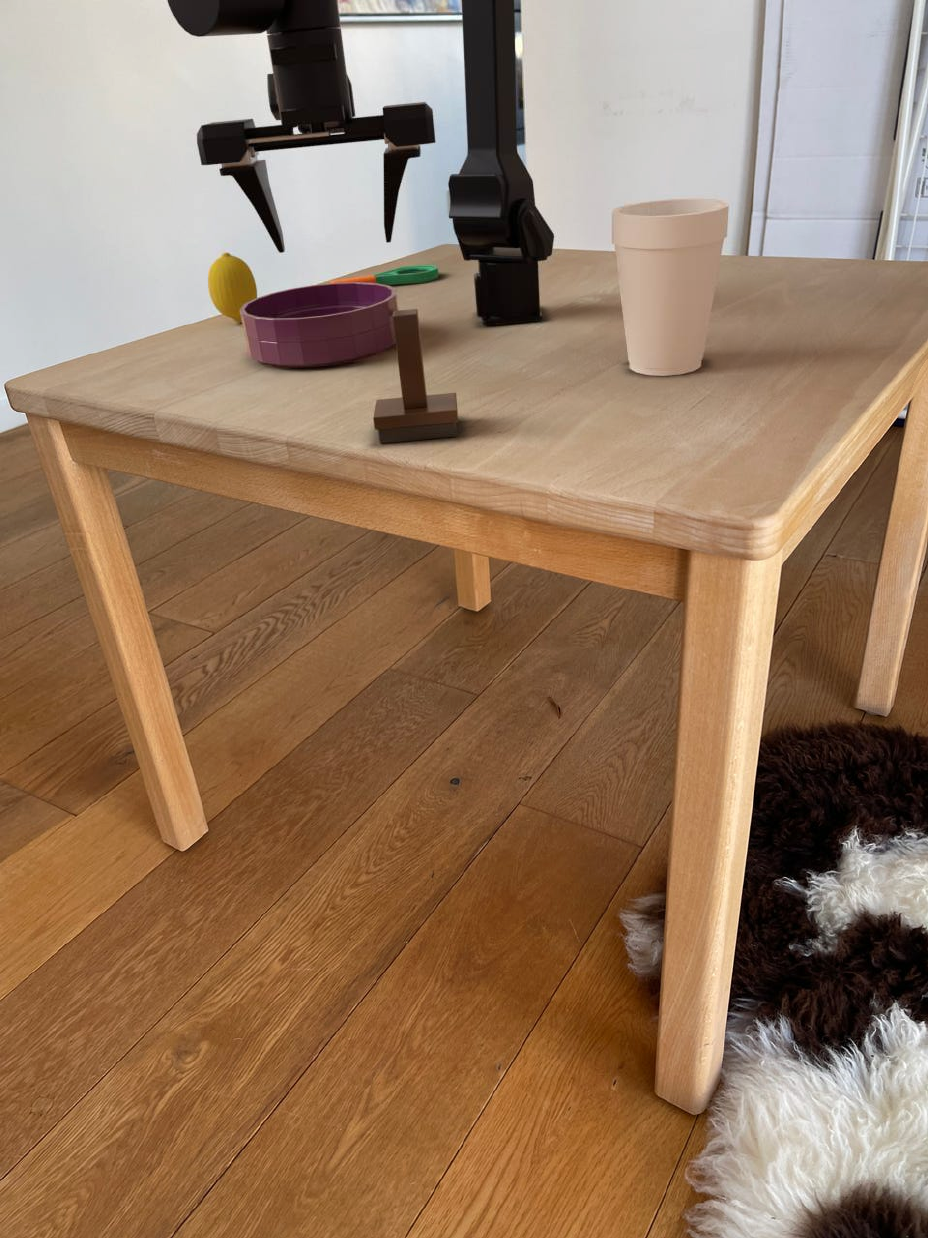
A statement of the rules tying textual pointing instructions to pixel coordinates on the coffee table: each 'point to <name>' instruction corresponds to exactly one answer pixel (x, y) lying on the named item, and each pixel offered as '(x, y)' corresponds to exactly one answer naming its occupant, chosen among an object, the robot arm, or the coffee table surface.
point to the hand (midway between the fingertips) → (335, 246)
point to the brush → (413, 393)
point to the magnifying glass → (398, 276)
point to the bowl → (320, 324)
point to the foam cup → (668, 279)
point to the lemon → (231, 285)
